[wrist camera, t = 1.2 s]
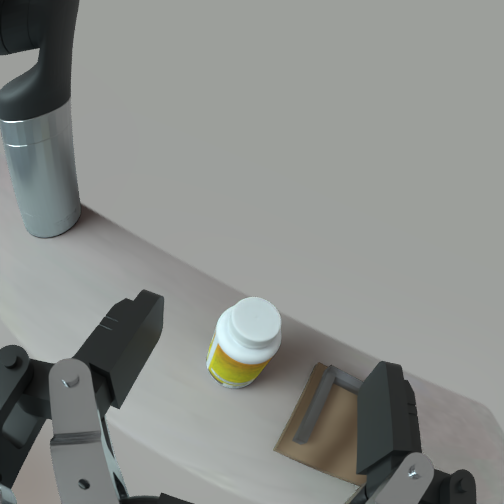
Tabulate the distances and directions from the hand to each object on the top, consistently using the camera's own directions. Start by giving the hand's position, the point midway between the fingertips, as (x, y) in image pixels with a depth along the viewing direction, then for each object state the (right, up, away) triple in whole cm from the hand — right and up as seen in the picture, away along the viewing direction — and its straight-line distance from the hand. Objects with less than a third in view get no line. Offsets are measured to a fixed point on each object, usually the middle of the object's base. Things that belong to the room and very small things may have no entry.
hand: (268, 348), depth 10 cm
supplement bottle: (-3, -9, +20) cm, 22 cm away
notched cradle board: (+9, -16, +18) cm, 25 cm away
